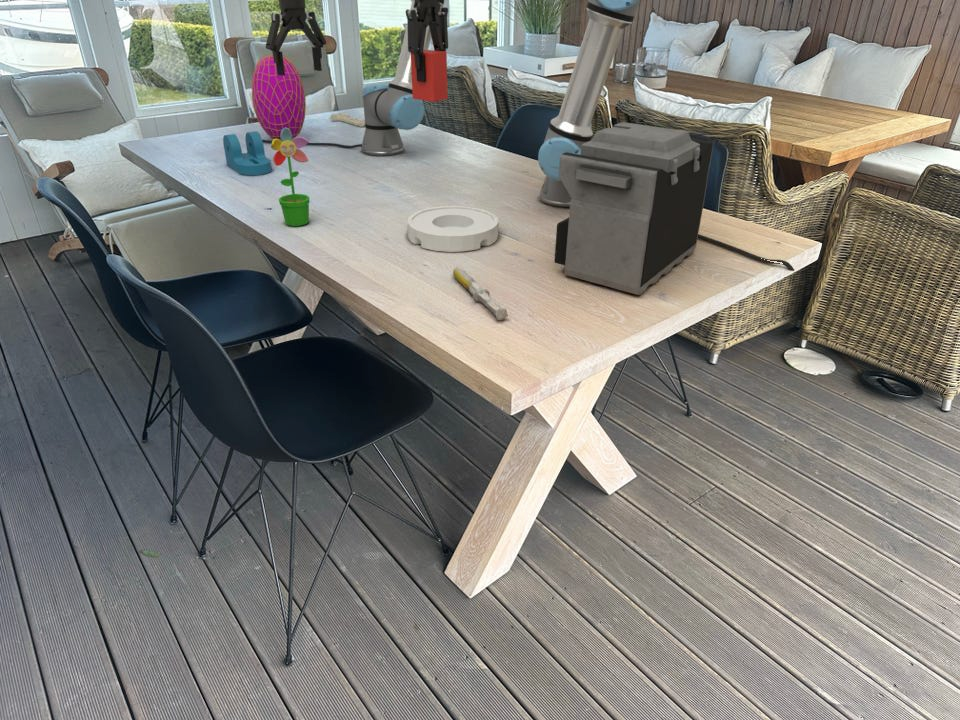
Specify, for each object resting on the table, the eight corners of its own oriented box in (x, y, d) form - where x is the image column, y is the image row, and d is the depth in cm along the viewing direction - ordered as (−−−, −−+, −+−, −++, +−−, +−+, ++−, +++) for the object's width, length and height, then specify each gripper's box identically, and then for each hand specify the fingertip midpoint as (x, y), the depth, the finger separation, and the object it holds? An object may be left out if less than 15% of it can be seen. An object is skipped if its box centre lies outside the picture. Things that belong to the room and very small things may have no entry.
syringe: (449, 274, 155) (449, 263, 153) (465, 272, 156) (464, 260, 154) (490, 323, 135) (491, 310, 133) (508, 319, 136) (508, 307, 134)
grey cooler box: (618, 231, 180) (632, 112, 165) (700, 250, 169) (723, 124, 154) (546, 276, 154) (555, 139, 139) (637, 301, 143) (657, 156, 128)
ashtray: (413, 219, 187) (412, 204, 185) (498, 221, 186) (498, 206, 184) (402, 250, 167) (401, 235, 165) (497, 252, 166) (498, 237, 164)
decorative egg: (293, 132, 276) (283, 50, 261) (319, 140, 264) (310, 56, 249) (249, 139, 265) (236, 54, 250) (273, 148, 253) (261, 60, 238)
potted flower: (284, 229, 179) (270, 130, 166) (277, 220, 185) (263, 124, 172) (319, 224, 183) (308, 127, 170) (311, 215, 188) (300, 121, 176)
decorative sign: (321, 115, 300) (341, 112, 306) (322, 117, 301) (341, 114, 307) (354, 125, 284) (374, 122, 289) (354, 127, 284) (374, 124, 290)
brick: (426, 95, 190) (424, 49, 184) (447, 99, 185) (446, 51, 179) (412, 98, 186) (410, 51, 180) (433, 101, 182) (432, 53, 176)
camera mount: (227, 164, 233) (221, 132, 227) (257, 160, 238) (252, 129, 233) (244, 176, 220) (239, 143, 215) (276, 172, 225) (271, 139, 220)
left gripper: (317, -8, 208) (324, 67, 219) (245, -6, 192) (257, 75, 203) (333, -7, 204) (340, 69, 215) (261, -5, 188) (272, 78, 198)
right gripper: (440, -21, 180) (442, 74, 192) (389, -19, 167) (394, 82, 179) (461, -20, 176) (462, 77, 187) (411, -18, 163) (415, 85, 175)
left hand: (300, 72), depth 209 cm, fingers open, 13 cm apart
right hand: (429, 79), depth 183 cm, fingers closed on brick, 6 cm apart
